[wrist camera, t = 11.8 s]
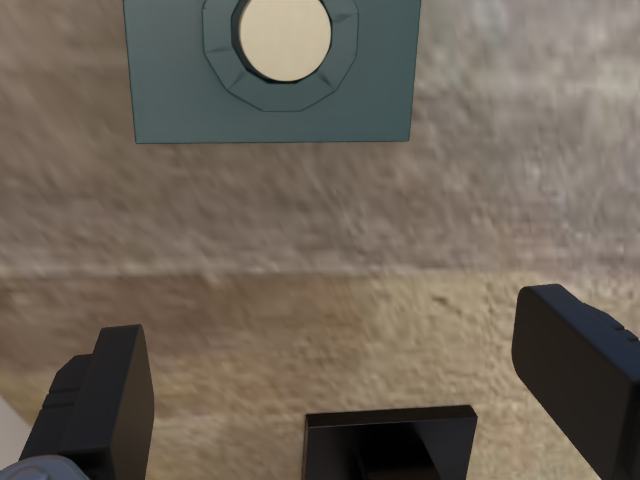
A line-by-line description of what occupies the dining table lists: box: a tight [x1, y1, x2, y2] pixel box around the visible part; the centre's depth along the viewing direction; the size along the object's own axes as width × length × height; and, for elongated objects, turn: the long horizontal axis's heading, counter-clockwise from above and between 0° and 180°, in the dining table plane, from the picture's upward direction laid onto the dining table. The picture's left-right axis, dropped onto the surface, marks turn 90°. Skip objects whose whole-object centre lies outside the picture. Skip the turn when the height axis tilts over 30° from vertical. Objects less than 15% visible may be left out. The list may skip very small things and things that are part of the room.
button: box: [238, 0, 331, 81], centre depth 24 cm, size 4×4×2 cm
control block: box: [123, 0, 421, 144], centre depth 26 cm, size 13×10×4 cm
